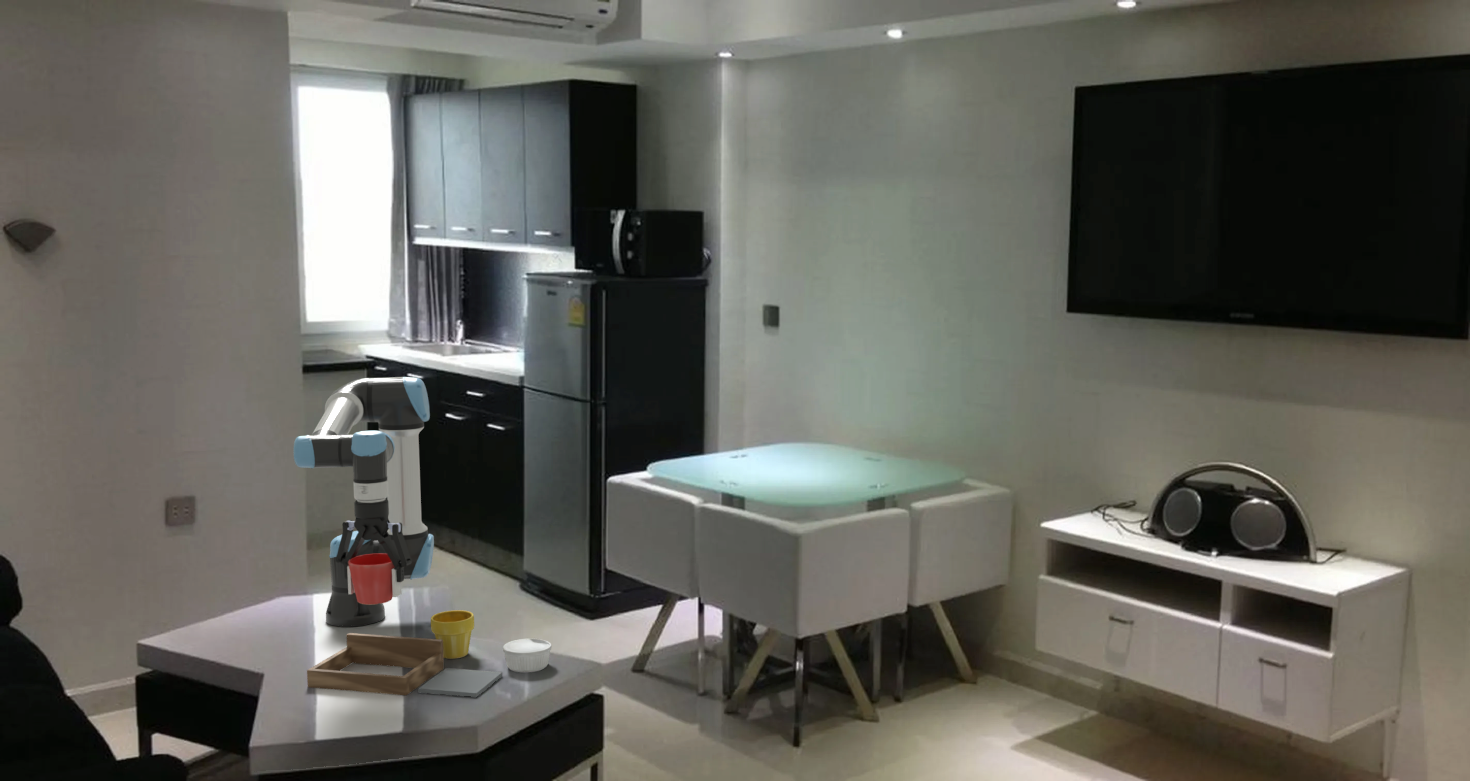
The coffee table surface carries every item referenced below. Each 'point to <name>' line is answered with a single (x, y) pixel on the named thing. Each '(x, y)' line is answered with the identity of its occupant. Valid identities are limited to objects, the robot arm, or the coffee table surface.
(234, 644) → the coffee table surface
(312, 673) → the frame
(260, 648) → the coffee table surface
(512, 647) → the ramekin
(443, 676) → the rubber mat
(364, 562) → the flower pot
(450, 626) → the plant pot
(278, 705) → the coffee table surface
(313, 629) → the coffee table surface
